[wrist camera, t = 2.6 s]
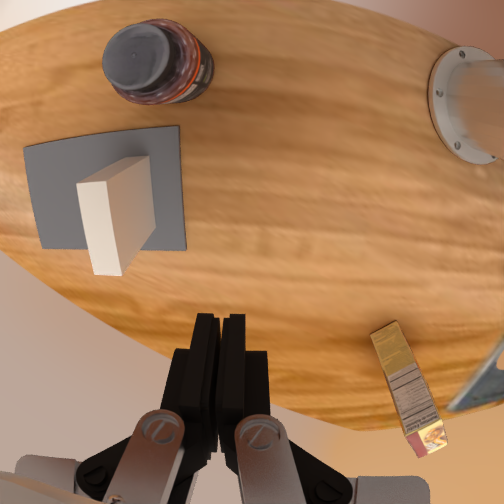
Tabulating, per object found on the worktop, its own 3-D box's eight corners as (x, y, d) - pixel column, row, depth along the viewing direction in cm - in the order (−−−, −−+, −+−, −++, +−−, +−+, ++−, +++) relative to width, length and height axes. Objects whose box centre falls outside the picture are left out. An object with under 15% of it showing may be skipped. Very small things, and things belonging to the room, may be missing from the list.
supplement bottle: (143, 51, 22) (80, 29, 12) (208, 32, 21) (178, -9, 11) (156, 110, 25) (96, 120, 15) (221, 94, 24) (197, 88, 14)
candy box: (412, 356, 38) (450, 443, 25) (386, 370, 39) (417, 460, 26) (396, 318, 35) (444, 418, 21) (366, 334, 36) (403, 438, 22)
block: (149, 155, 26) (106, 181, 18) (155, 227, 29) (122, 275, 21) (124, 157, 26) (75, 183, 18) (132, 227, 29) (94, 274, 21)
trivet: (179, 125, 25) (178, 126, 25) (186, 248, 31) (185, 250, 30) (25, 147, 25) (23, 147, 25) (44, 246, 31) (42, 248, 30)
